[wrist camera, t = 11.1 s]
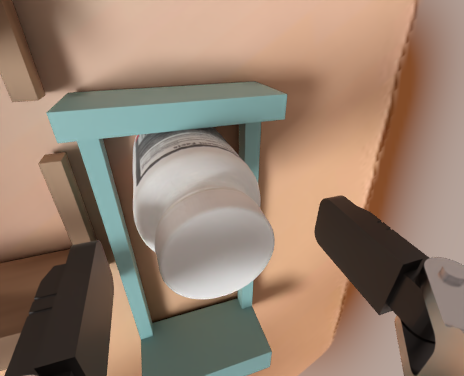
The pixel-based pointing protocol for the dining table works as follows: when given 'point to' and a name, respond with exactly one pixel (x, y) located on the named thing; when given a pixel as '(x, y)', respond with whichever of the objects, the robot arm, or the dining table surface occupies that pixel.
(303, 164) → the dining table surface
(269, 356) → the frame
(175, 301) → the dining table surface
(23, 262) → the walnut lane broken
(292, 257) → the dining table surface
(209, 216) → the pill bottle
